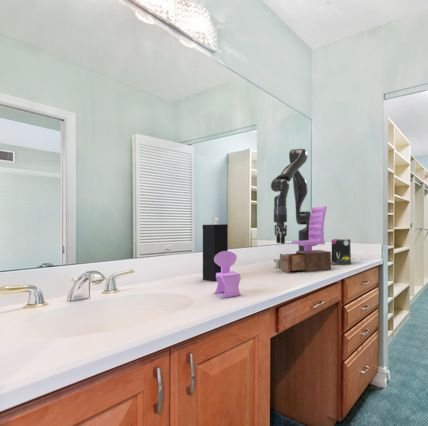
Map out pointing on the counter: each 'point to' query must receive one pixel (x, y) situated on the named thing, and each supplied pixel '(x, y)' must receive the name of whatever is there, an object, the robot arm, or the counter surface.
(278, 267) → the block
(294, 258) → the drawer
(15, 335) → the counter surface
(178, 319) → the counter surface
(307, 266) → the cabinet
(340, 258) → the tampon box
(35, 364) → the counter surface
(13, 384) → the counter surface
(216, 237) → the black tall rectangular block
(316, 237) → the purple chair
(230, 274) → the toy chair
